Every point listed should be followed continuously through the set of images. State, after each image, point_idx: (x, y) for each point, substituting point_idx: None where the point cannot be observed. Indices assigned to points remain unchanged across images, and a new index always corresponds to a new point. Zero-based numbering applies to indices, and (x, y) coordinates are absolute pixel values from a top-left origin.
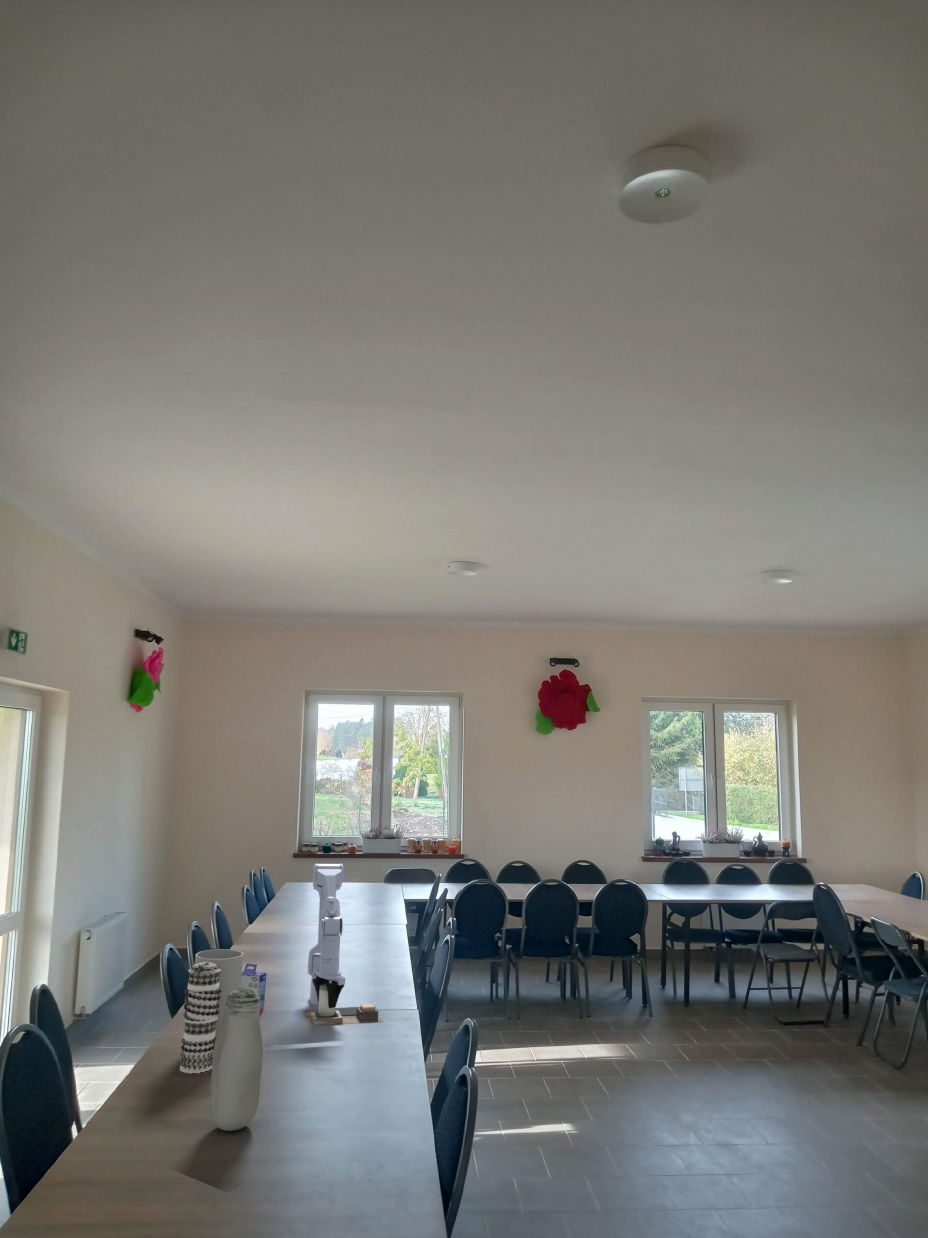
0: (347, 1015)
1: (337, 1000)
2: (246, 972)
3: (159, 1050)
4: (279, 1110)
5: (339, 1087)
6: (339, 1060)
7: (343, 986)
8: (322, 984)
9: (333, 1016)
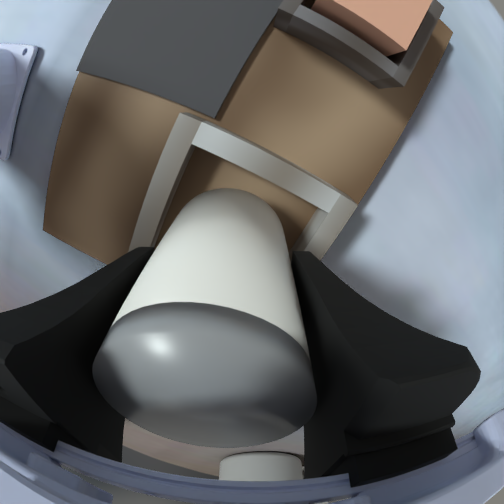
0: (240, 69)
1: (332, 273)
2: None
3: (202, 472)
4: (458, 430)
5: (498, 383)
6: (479, 357)
7: (455, 353)
8: (112, 406)
9: (195, 151)
